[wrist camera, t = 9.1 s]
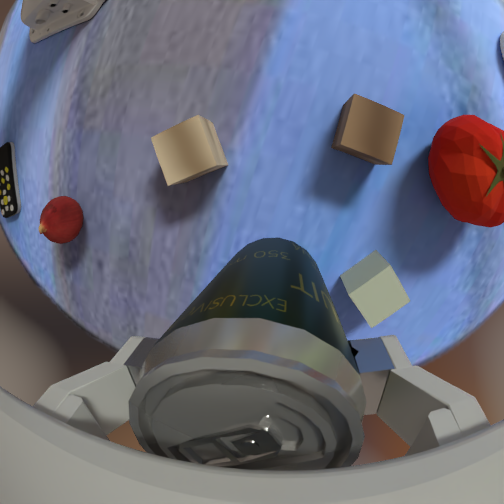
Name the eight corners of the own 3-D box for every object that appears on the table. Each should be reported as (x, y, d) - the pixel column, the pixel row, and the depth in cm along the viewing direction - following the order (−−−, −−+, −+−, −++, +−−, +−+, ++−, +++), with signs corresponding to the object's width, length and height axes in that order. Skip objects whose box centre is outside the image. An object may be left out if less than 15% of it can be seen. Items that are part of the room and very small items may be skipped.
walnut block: (331, 148, 26) (340, 144, 21) (343, 104, 24) (354, 93, 20) (374, 164, 26) (391, 164, 21) (386, 122, 24) (404, 115, 20)
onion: (60, 208, 32) (20, 221, 24) (81, 183, 30) (39, 192, 23) (79, 242, 33) (40, 261, 25) (101, 219, 31) (60, 235, 24)
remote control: (16, 139, 30) (7, 139, 28) (24, 210, 33) (15, 213, 31) (0, 151, 31) (-8, 152, 29) (8, 217, 34) (1, 220, 32)
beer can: (257, 336, 17) (212, 509, 5) (211, 264, 16) (78, 385, 5) (335, 297, 16) (398, 466, 4) (291, 218, 15) (304, 281, 4)
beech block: (186, 182, 29) (168, 185, 24) (171, 141, 28) (150, 137, 23) (228, 165, 28) (216, 165, 23) (212, 122, 27) (198, 114, 22)
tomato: (497, 177, 23) (550, 187, 14) (449, 236, 27) (500, 266, 17) (447, 100, 22) (500, 84, 12) (393, 158, 25) (441, 158, 16)
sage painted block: (361, 305, 31) (371, 328, 26) (339, 275, 30) (348, 294, 25) (394, 281, 29) (410, 300, 25) (375, 249, 29) (390, 264, 24)
